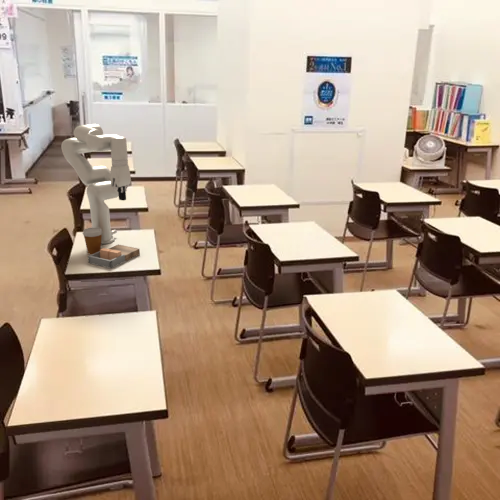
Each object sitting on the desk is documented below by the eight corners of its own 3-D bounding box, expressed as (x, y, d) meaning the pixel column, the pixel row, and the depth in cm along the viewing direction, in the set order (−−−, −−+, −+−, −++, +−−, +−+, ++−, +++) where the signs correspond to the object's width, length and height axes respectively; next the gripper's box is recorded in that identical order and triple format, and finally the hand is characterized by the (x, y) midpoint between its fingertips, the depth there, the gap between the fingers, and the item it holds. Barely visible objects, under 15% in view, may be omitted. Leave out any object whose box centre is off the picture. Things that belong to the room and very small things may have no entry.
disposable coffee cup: (98, 256, 267) (96, 233, 263) (81, 255, 269) (78, 232, 265) (107, 250, 276) (105, 227, 272) (90, 248, 278) (88, 226, 274)
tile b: (112, 249, 261) (108, 251, 259) (121, 251, 259) (117, 253, 257) (113, 259, 263) (109, 261, 260) (121, 260, 261) (117, 262, 258)
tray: (102, 256, 267) (102, 249, 266) (125, 261, 261) (124, 254, 260) (88, 262, 259) (87, 256, 258) (111, 268, 253) (110, 261, 252)
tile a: (103, 247, 263) (99, 249, 261) (112, 249, 261) (107, 251, 259) (104, 257, 265) (100, 259, 262) (112, 259, 263) (108, 261, 260)
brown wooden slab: (118, 249, 277) (118, 244, 276) (139, 254, 271) (139, 248, 270) (104, 256, 267) (103, 250, 266) (125, 261, 262) (125, 255, 261)
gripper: (123, 159, 267) (126, 195, 273) (103, 164, 254) (106, 202, 261) (136, 161, 264) (138, 197, 270) (115, 166, 251) (118, 204, 257)
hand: (122, 199), depth 265 cm, fingers closed
